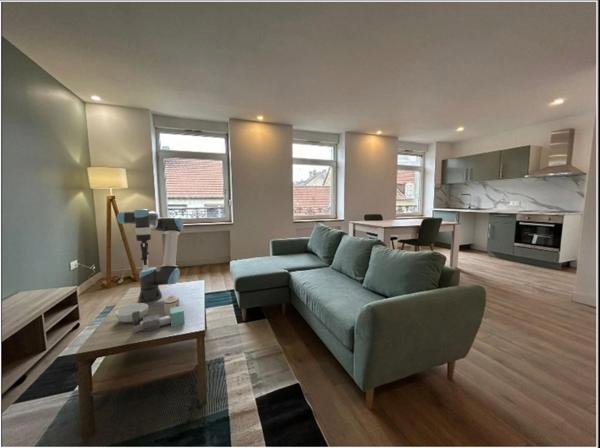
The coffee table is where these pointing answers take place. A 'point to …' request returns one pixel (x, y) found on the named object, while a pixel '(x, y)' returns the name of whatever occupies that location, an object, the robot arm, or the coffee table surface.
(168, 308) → the teacup with lid
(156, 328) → the sleeve
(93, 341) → the coffee table surface
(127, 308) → the cereal bowl
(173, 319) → the socket
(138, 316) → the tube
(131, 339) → the coffee table surface
